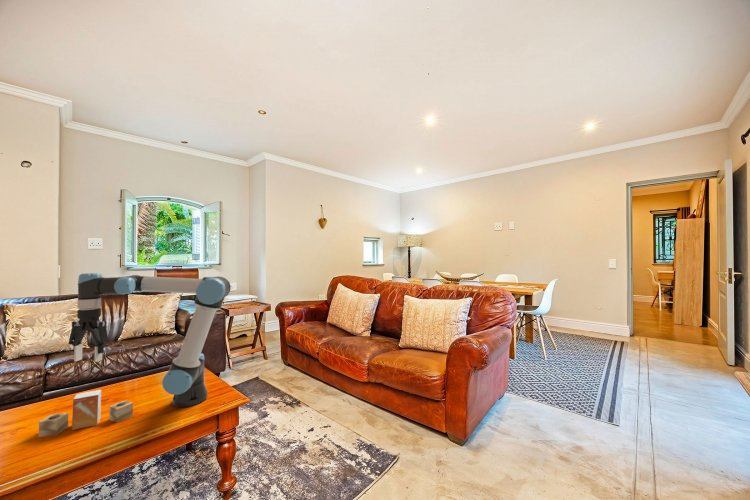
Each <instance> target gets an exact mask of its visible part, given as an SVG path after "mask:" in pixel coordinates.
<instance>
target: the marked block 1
mask: <svg viewBox="0 0 750 500" xmlns="http://www.w3.org/2000/svg"><path fill="white" fill-rule="evenodd" d="M69 414H70V413H69V412H68V413H67V412H63V413H52V414H50V415H48V416H46V417H45V418H42V419H41V420H40V421H38V438H40V437H52V436H57V435H59V434H60V433H62V432H63V431H64V430H66V429H67V428H69Z"/></svg>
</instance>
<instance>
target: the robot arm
mask: <svg viewBox="0 0 750 500" xmlns="http://www.w3.org/2000/svg"><path fill="white" fill-rule="evenodd" d="M133 292H149V293H172V294H173V293H174V294H194V295H195V296H196V297H195V300H194V302H193V303H194V304H195V306H196V307H195V309H194V312H193V315H192V317H191V320H190V323H189V326H188V328H187V329H188V330H187V331H186V334H185V337H184V340H183V342H182V344H181V347H180V351H179V353H178V356H176V357H174V358H173V359H172V362H171V363H170V367H169V369H168V371H167V372H166V374H164V377H163V378H162V381H161V384H162V388H163V390H164V392H166V393H168V394H170V395H173V398H172V406H174V407H175V408H187V407H192V405H193V406H196V405H198V404H197V403H199V404H201V403H203V402H205V401H206V400H207V399H206V398H208V397H207V396H208V390H207V387H206V384H205V354H204V353H202V351H203V348H204V345H205V343H206V339H207V338H208V335H209V332H210V329H211V326H212V323H213V321H214V318H215V315H216V313H217V311H218V310H220V309H221V308H222V306H223V302H224V300H225V298H226V297H227V296H228V295H229V294H230V292H231V283H230V281H229V280H228V279H227V278H225V277H223V276H210V277H209V276H208V277H207V276H203V277H202V278H193V277H192V278H190V277H189V278H187V277H171V276H170V277H168V276H166V277H165V276H149V275H148V276H147V275H146V276H145V275H138V274H132V275H128V276H118V277H117V276H116V277H115V276H114V277H111V276H110V277H104V276H103V274H102V273H99V272H87V273H80V274H79V275H78V280H77V309H78V310H77V312H76V313H77V314H76V318H77V319H79V320H76V321H75V320H74V321H72V322H71V329H70V335H69V339H68V345H72V347H73V349H72V350H73V351H72V353H73V362H78V361H81V360H83V343H82V342H83V339H84V337H85V336H86V333H87V331H89V333H90V334H91V335H92V338H93V341H94V342H95V344H96V345H95V346H94V363H97V362H100V361H103V353H104V345H107V344H109V342H110V341H109V336H108V330H107V321H106V320H103V321H101V319H100V317H101V316H102V308H101V307H102V296H103V295H104V296H105V295H127V294H128V295H129V294H132V293H133ZM205 399H206V400H205ZM202 401H203V402H202ZM200 402H201V403H200ZM195 404H196V405H195Z"/></svg>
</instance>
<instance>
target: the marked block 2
mask: <svg viewBox="0 0 750 500" xmlns="http://www.w3.org/2000/svg"><path fill="white" fill-rule="evenodd" d="M133 408H134V403H133V402H131V401H128V400H122V401H120V402H116V403H115V404H112V405H110V406H109V409H108V410H109V412H108V413H109V415H108V416H109V421H112V422H114V423H119V422H122V421H124V420H127V419H129V418H131V417H133V411H134V410H133Z"/></svg>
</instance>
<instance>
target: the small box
mask: <svg viewBox="0 0 750 500" xmlns="http://www.w3.org/2000/svg"><path fill="white" fill-rule="evenodd" d="M101 402H102V389H97V390H90V391H85V392H81V393H76V395H75V396H74V397H73V400H72V418H71V420H72V421H71V431H74V430H79V429H83V428H88V427H92V426H93V427H94V426H97V425H98V424H99V422H100V420H101V414H102V413H101V411H102V410H101V409H102V403H101Z"/></svg>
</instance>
